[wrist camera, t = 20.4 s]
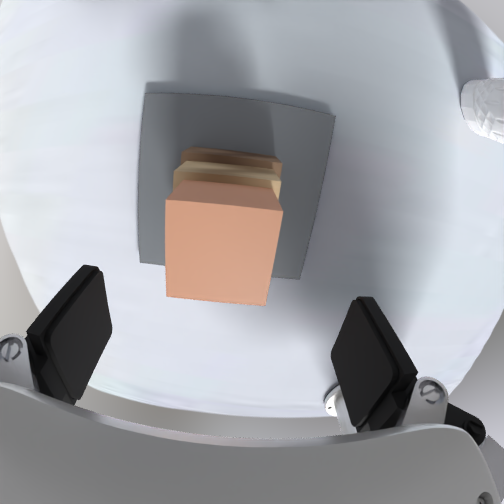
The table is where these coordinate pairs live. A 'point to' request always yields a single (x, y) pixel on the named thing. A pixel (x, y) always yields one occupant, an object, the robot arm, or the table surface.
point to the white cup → (484, 107)
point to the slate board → (237, 139)
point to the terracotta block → (221, 241)
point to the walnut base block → (232, 158)
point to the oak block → (227, 175)
